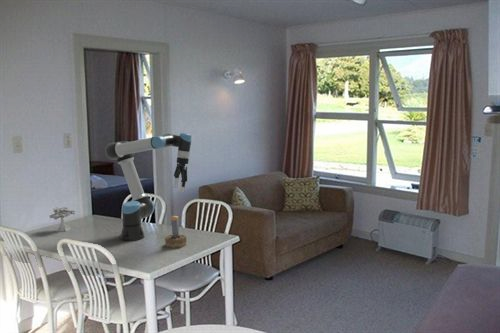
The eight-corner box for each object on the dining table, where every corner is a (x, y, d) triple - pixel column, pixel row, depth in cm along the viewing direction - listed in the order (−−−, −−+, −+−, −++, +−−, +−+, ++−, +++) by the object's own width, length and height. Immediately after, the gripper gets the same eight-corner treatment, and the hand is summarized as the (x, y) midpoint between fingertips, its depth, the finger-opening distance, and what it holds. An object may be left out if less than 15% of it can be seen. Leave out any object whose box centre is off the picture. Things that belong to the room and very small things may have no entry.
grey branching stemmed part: (51, 234, 328) (49, 210, 326) (47, 229, 342) (45, 206, 340) (78, 231, 337) (77, 207, 335) (74, 226, 351) (72, 203, 349)
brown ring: (163, 243, 304) (163, 235, 303) (182, 241, 309) (182, 233, 308) (169, 248, 293) (168, 240, 292) (188, 246, 298) (187, 238, 297)
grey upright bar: (171, 244, 302) (171, 216, 299) (178, 243, 303) (177, 215, 301) (173, 246, 298) (172, 217, 296) (179, 245, 300) (179, 216, 297)
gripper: (195, 160, 302) (190, 193, 304) (182, 155, 324) (178, 186, 326) (183, 159, 299) (179, 193, 301) (171, 154, 321) (167, 185, 323)
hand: (178, 189), depth 314 cm, fingers open, 13 cm apart
